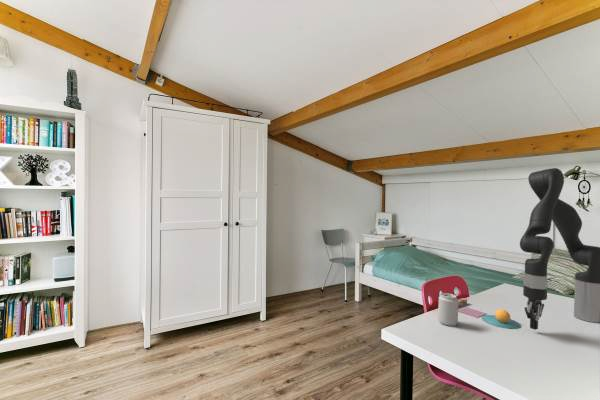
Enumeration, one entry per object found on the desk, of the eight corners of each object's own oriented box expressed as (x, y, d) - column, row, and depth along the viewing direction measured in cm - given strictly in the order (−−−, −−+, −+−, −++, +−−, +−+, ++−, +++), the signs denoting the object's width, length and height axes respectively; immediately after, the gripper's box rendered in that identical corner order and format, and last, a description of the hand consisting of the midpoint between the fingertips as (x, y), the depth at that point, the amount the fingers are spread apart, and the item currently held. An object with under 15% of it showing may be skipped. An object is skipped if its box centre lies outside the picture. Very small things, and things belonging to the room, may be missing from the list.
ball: (501, 306, 133) (514, 312, 128) (499, 318, 133) (512, 324, 128) (493, 307, 131) (506, 312, 126) (491, 319, 131) (504, 325, 126)
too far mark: (467, 307, 146) (467, 307, 146) (487, 314, 139) (487, 313, 139) (457, 311, 141) (457, 310, 141) (477, 317, 134) (477, 317, 134)
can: (453, 320, 131) (454, 292, 131) (460, 327, 123) (461, 298, 123) (435, 319, 131) (436, 291, 131) (441, 326, 124) (442, 297, 124)
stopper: (462, 302, 154) (463, 297, 154) (466, 303, 152) (467, 299, 152) (440, 309, 143) (440, 304, 143) (444, 311, 141) (444, 305, 141)
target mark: (490, 313, 140) (490, 312, 140) (526, 324, 128) (526, 323, 128) (475, 319, 132) (475, 318, 132) (511, 331, 121) (511, 331, 121)
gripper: (530, 281, 127) (529, 322, 127) (517, 285, 120) (515, 328, 120) (553, 285, 121) (551, 328, 121) (540, 290, 113) (538, 336, 113)
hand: (533, 328), depth 120 cm, fingers closed
